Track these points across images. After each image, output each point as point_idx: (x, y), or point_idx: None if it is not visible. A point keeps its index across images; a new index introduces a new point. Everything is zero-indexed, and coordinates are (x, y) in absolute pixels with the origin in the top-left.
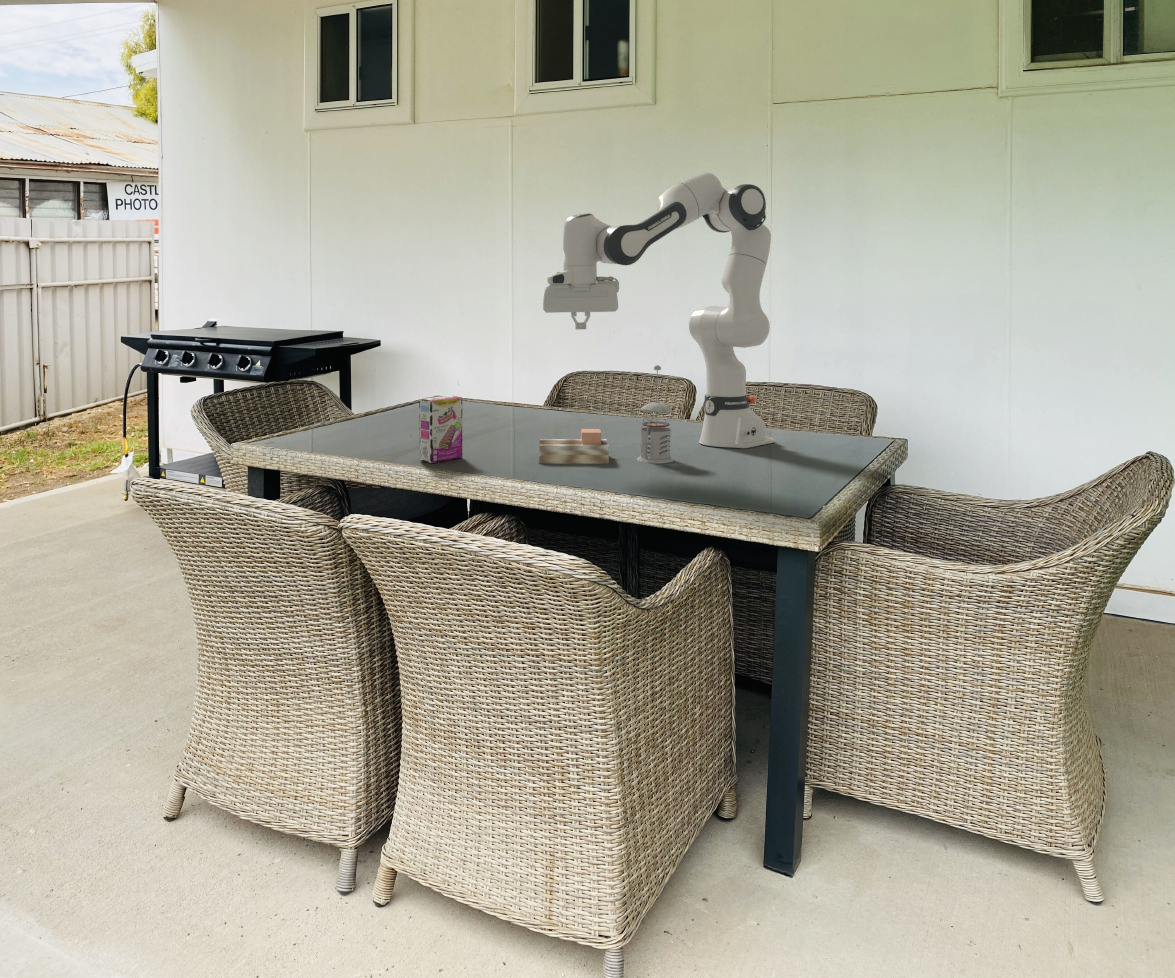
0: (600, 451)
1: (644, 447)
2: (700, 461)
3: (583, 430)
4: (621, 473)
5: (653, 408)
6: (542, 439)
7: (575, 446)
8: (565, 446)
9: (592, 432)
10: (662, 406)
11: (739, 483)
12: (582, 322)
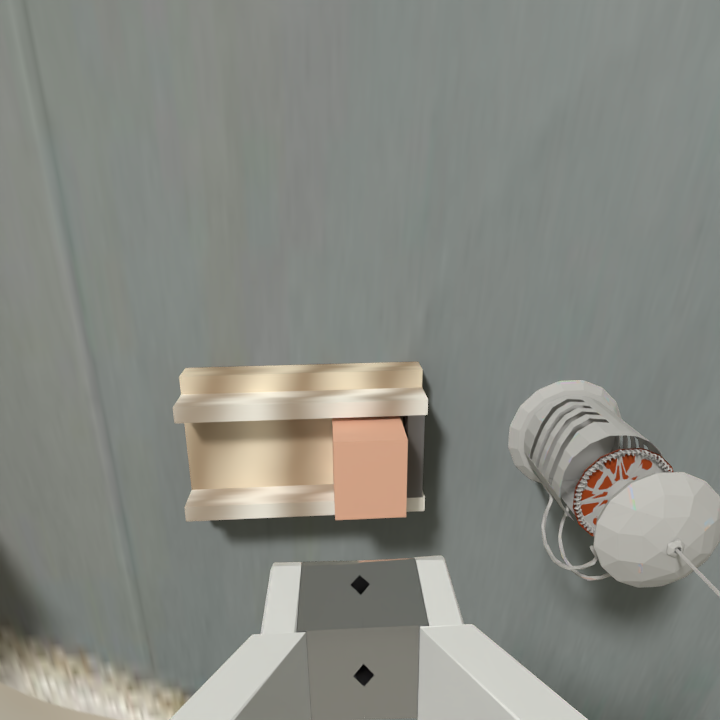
0: None
1: (543, 482)
2: (695, 451)
3: (341, 477)
4: None
5: (637, 583)
6: (185, 412)
7: (312, 513)
8: (277, 515)
9: (374, 515)
10: (682, 575)
11: (697, 686)
12: (396, 653)
